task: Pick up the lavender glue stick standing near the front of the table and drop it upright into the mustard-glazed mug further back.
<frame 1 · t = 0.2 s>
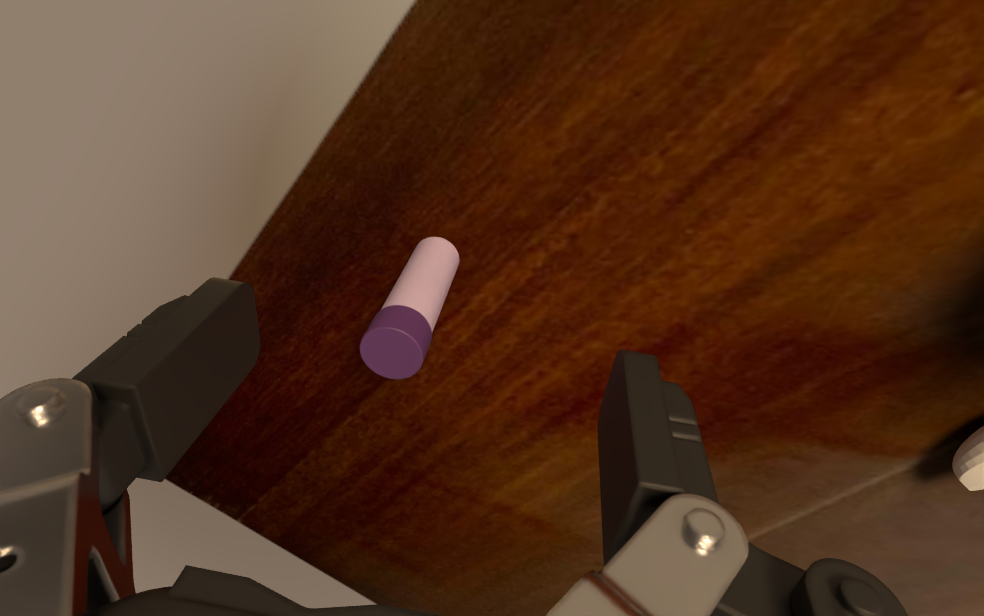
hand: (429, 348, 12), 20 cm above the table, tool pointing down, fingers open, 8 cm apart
glue stick: (436, 257, 34), on the table
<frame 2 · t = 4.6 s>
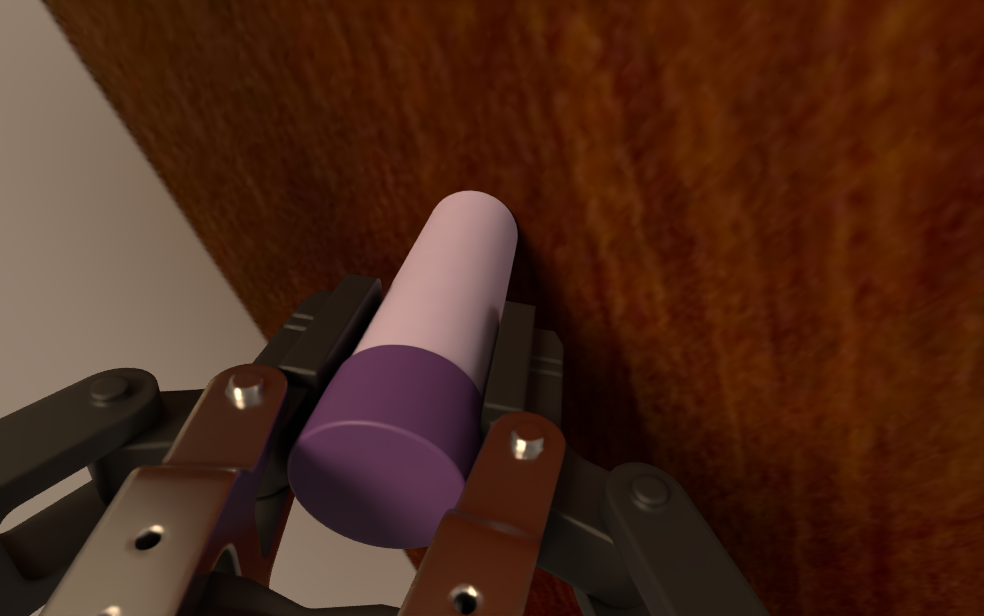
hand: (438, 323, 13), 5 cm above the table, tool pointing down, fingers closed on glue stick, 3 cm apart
glue stick: (473, 233, 17), on the table, touching gripper
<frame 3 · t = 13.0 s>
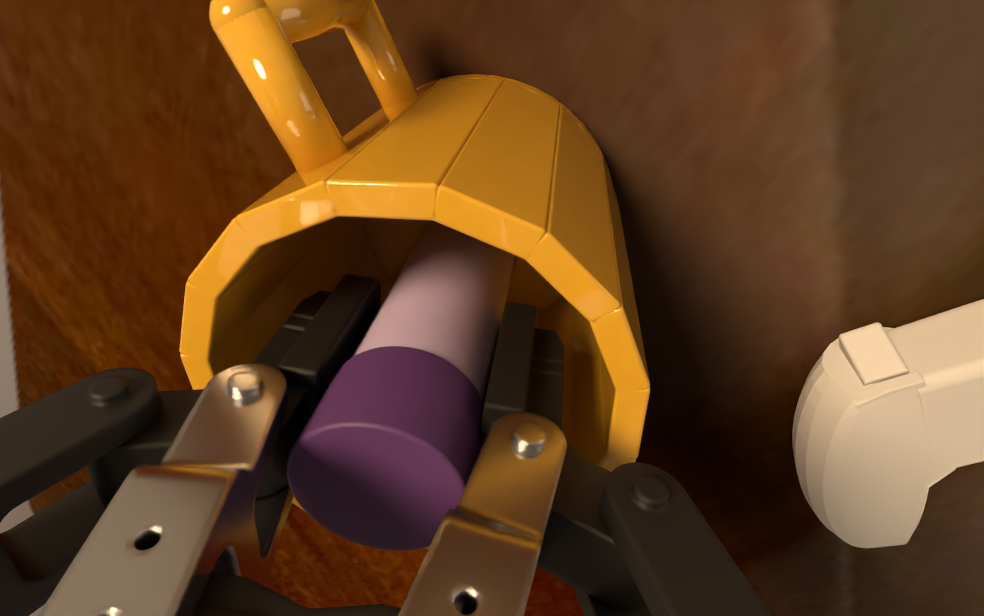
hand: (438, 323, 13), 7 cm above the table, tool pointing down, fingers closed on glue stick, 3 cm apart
glue stick: (474, 234, 17), point 1 cm above the table, touching gripper
mug: (480, 214, 18), on the table
when the fingers open (10 cm above the table, at t = 24.4 s): glue stick drops 4 cm, resting on mug.
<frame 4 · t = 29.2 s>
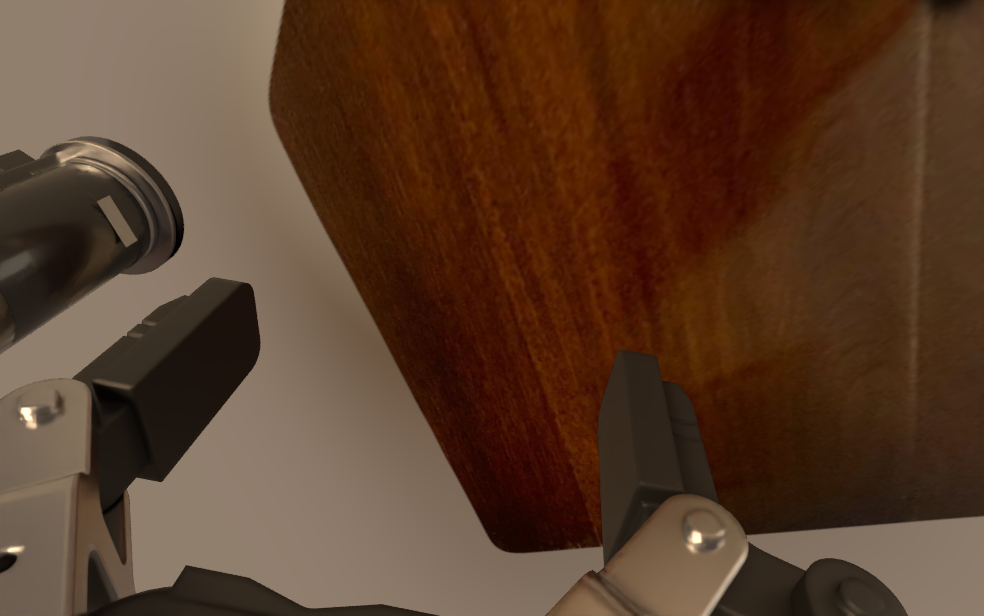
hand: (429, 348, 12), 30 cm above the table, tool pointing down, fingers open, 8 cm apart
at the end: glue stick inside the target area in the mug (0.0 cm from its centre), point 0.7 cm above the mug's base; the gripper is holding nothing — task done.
